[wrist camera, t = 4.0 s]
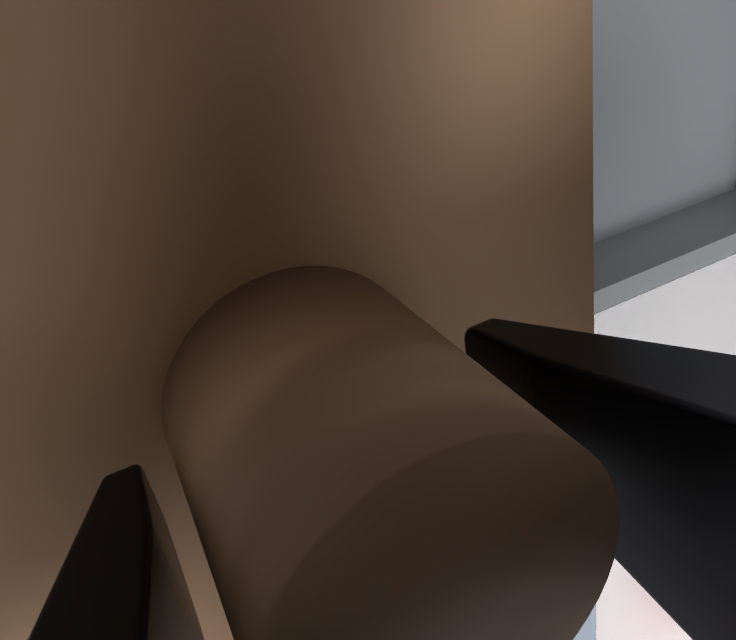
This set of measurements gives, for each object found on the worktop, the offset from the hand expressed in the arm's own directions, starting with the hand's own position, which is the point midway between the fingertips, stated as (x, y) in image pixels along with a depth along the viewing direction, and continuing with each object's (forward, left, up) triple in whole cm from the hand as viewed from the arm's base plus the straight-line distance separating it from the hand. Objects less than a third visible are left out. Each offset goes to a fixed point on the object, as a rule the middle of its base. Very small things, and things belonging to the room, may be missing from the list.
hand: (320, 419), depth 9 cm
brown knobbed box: (0, -1, -7) cm, 7 cm away
